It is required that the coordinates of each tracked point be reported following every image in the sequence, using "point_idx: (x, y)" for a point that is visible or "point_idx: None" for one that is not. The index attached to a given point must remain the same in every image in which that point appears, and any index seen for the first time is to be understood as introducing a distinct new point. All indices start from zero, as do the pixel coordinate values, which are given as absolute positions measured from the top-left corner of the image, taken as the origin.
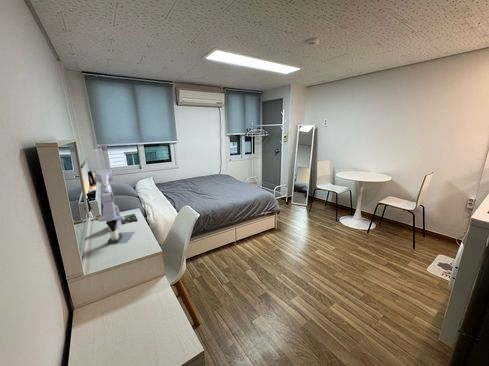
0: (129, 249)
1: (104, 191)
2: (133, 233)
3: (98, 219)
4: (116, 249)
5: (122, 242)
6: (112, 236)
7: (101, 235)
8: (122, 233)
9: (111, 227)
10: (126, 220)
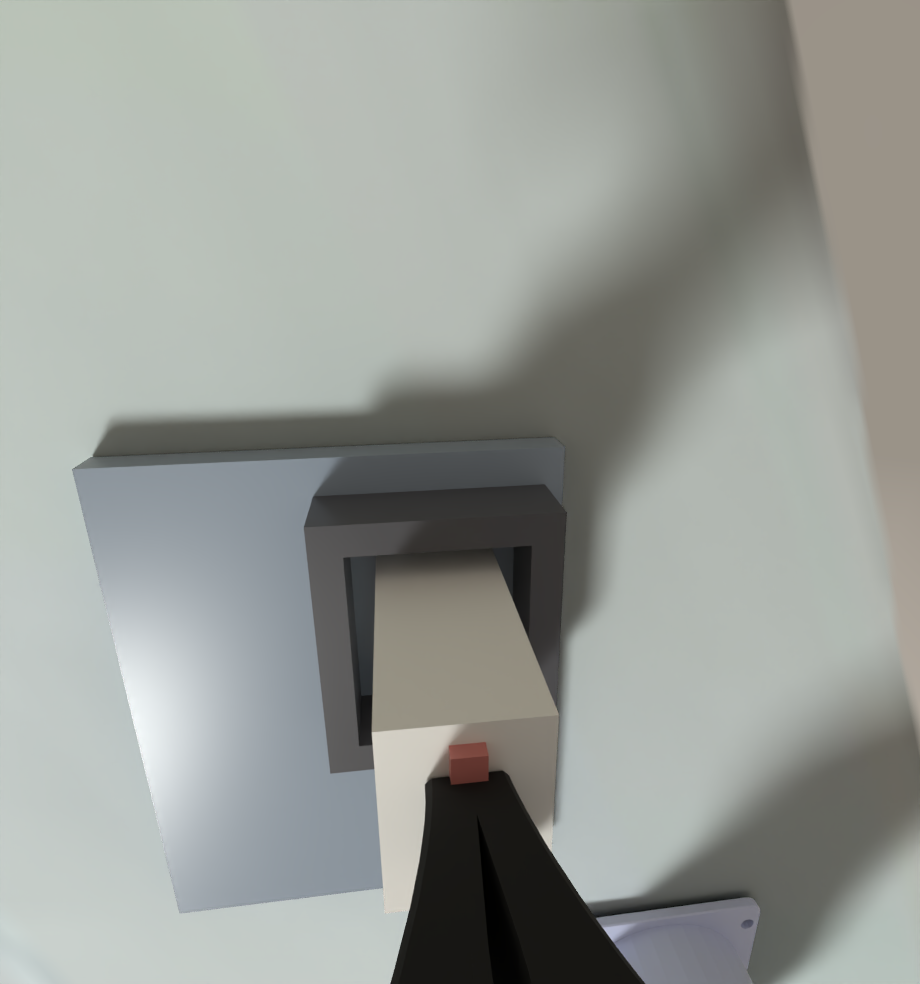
0: None
1: None
2: (171, 851)
3: None
4: (241, 236)
5: (212, 502)
6: (470, 623)
7: (798, 813)
8: None
9: (521, 949)
10: None
